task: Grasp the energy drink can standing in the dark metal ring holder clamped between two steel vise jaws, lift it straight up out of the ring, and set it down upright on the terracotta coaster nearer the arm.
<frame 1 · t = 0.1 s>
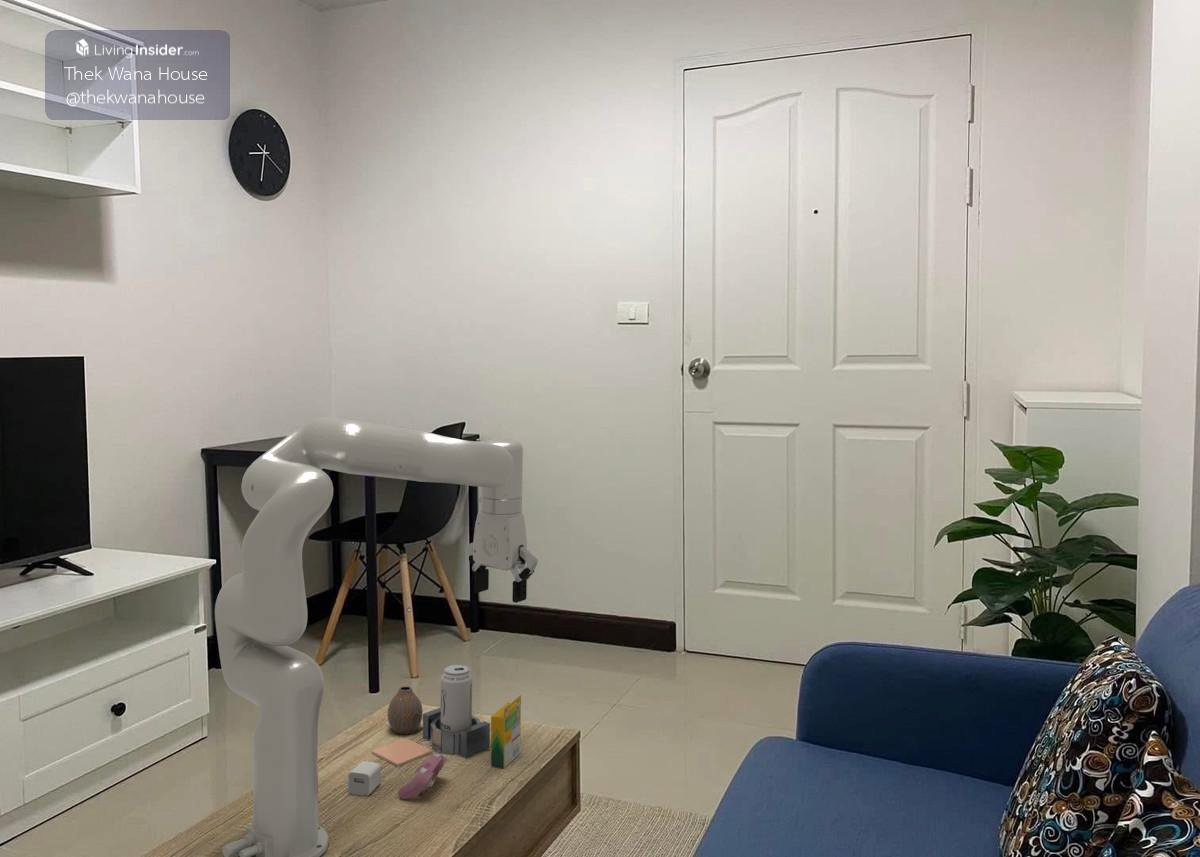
hand: (500, 595, 179), 31 cm above the table, tool pointing down, fingers open, 9 cm apart
crayon box: (505, 760, 180), on the table
vase: (405, 731, 192), on the table
usb wall charger: (368, 787, 169), on the table
coaster: (401, 753, 182), on the table
energy drink can: (455, 744, 187), resting in ring holder
ring holder: (455, 743, 187), on the table
video game controller: (423, 790, 168), on the table
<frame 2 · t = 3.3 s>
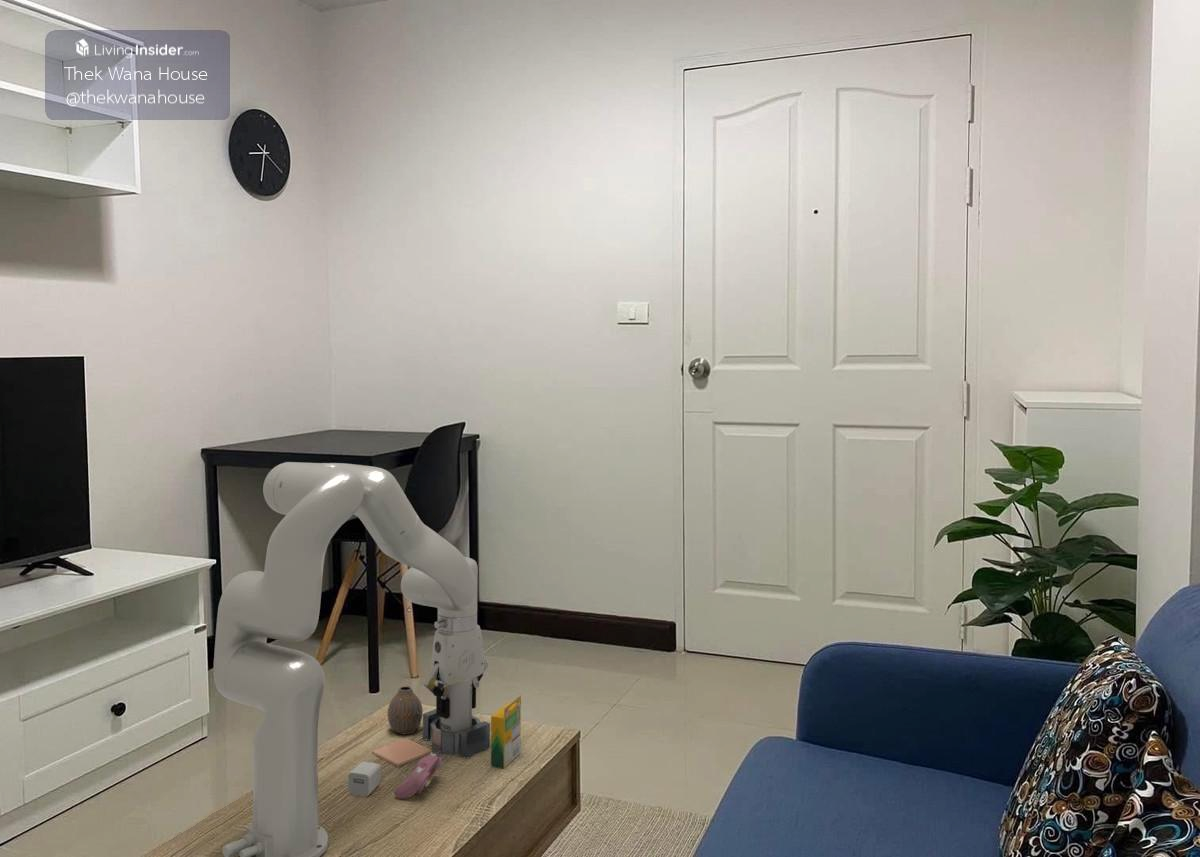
hand: (456, 710, 186), 7 cm above the table, tool pointing down, fingers closed on energy drink can, 6 cm apart
energy drink can: (455, 744, 187), resting in ring holder, touching gripper
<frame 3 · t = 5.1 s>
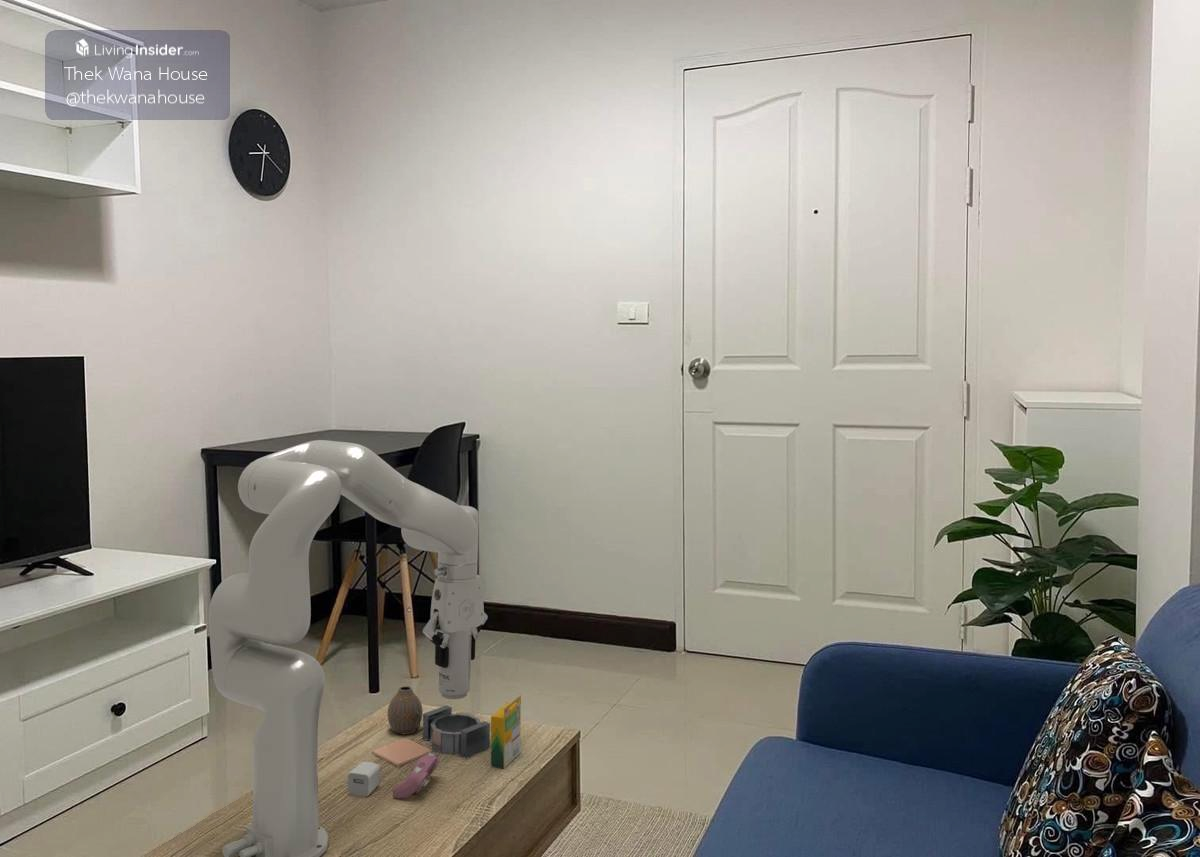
hand: (455, 661, 184), 17 cm above the table, tool pointing down, fingers closed on energy drink can, 6 cm apart
energy drink can: (454, 695, 185), point 10 cm above the table, touching gripper
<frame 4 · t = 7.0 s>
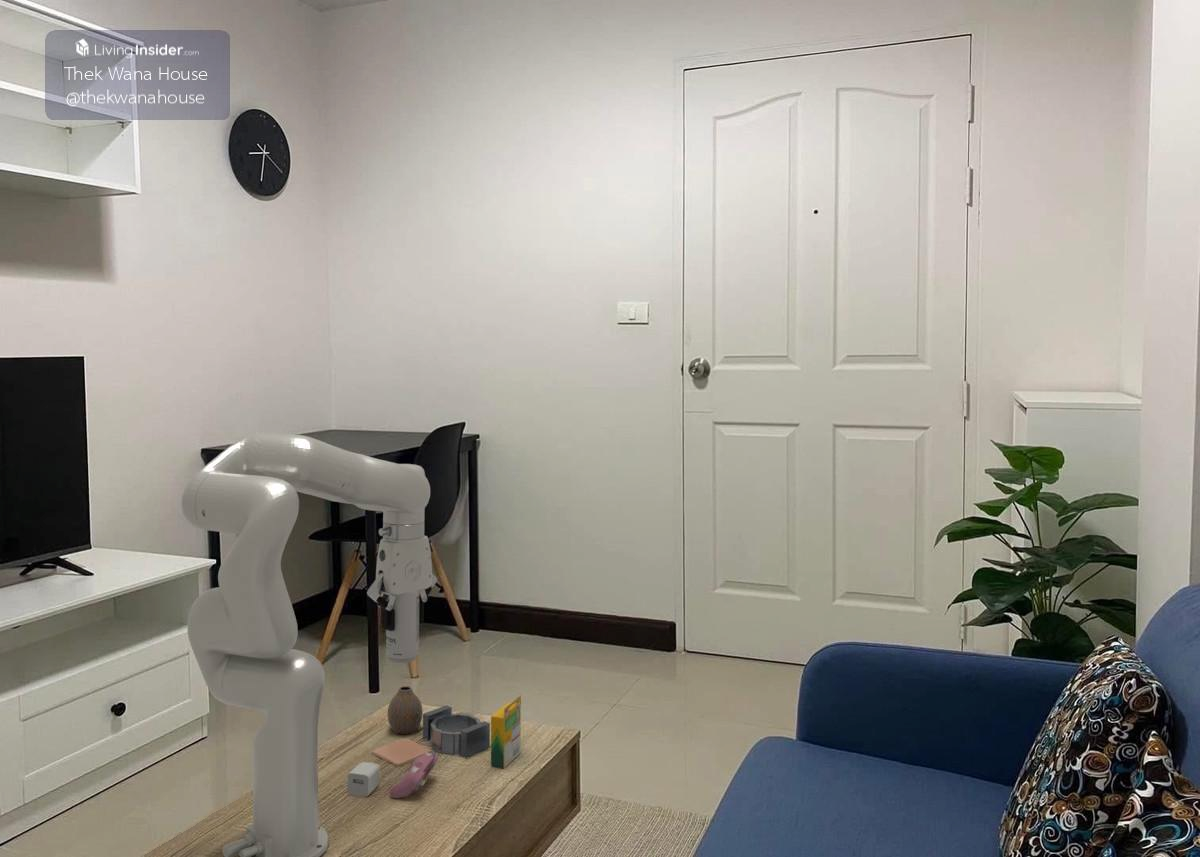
hand: (402, 624, 179), 25 cm above the table, tool pointing down, fingers closed on energy drink can, 6 cm apart
energy drink can: (402, 659, 179), point 18 cm above the table, touching gripper
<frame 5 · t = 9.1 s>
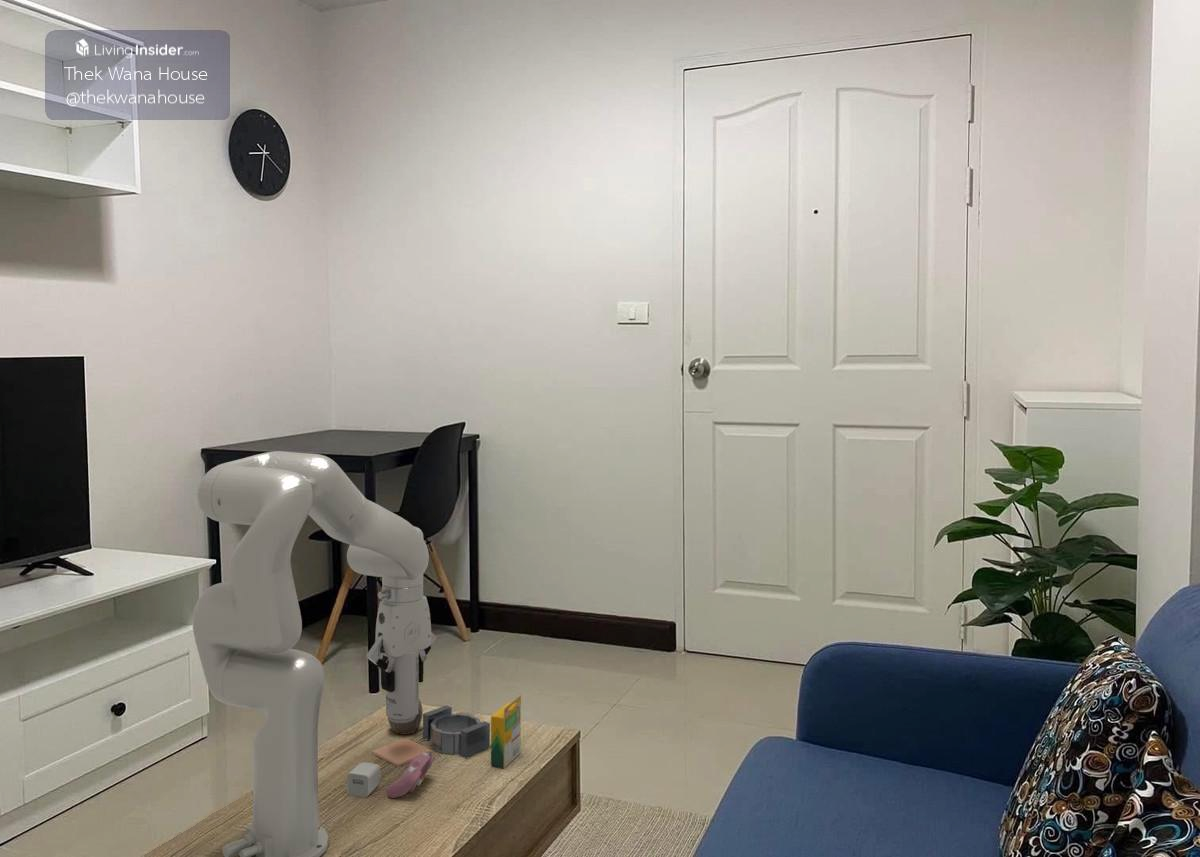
hand: (402, 684, 180), 14 cm above the table, tool pointing down, fingers closed on energy drink can, 6 cm apart
energy drink can: (402, 718, 181), point 7 cm above the table, touching gripper
when the fingers open (8 cm above the table, at t = 10.6 s): energy drink can drops 1 cm, resting on coaster.
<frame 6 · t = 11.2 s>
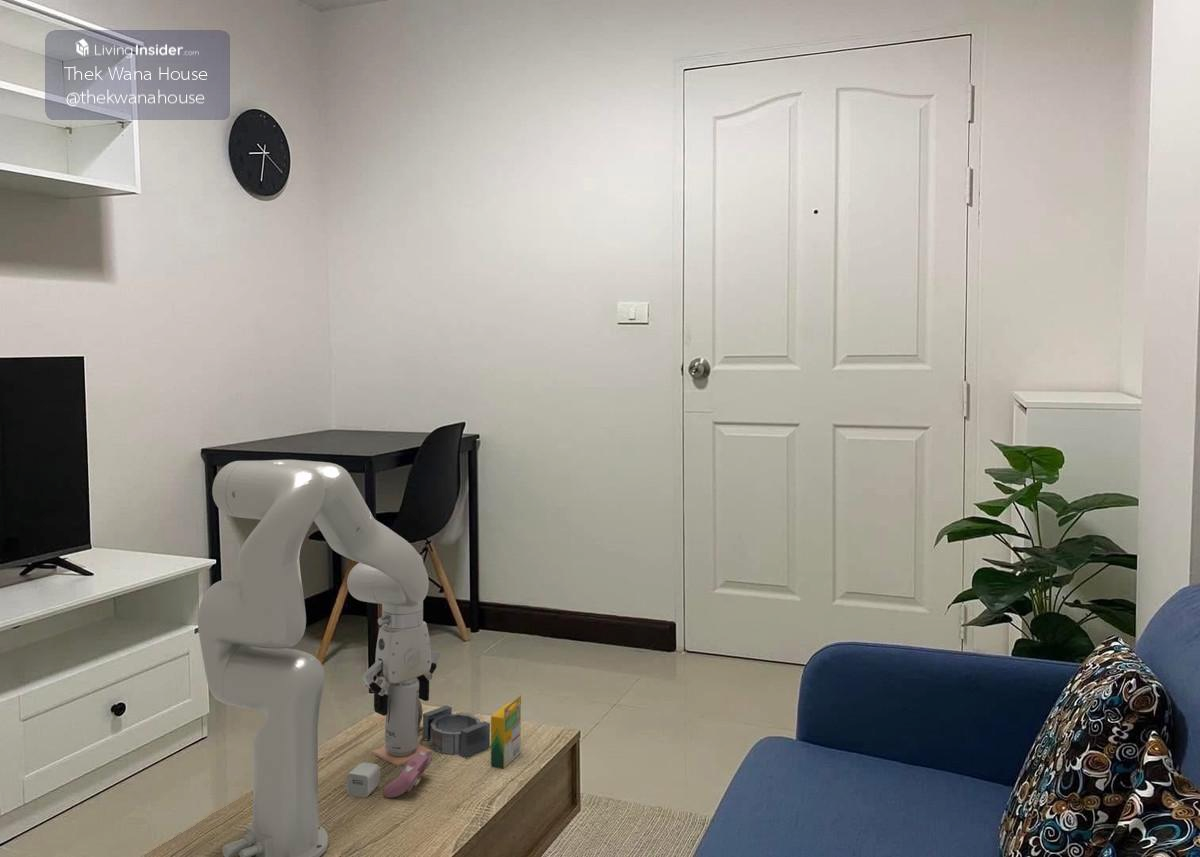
hand: (402, 706, 181), 9 cm above the table, tool pointing down, fingers open, 9 cm apart
energy drink can: (401, 751, 181), resting on coaster
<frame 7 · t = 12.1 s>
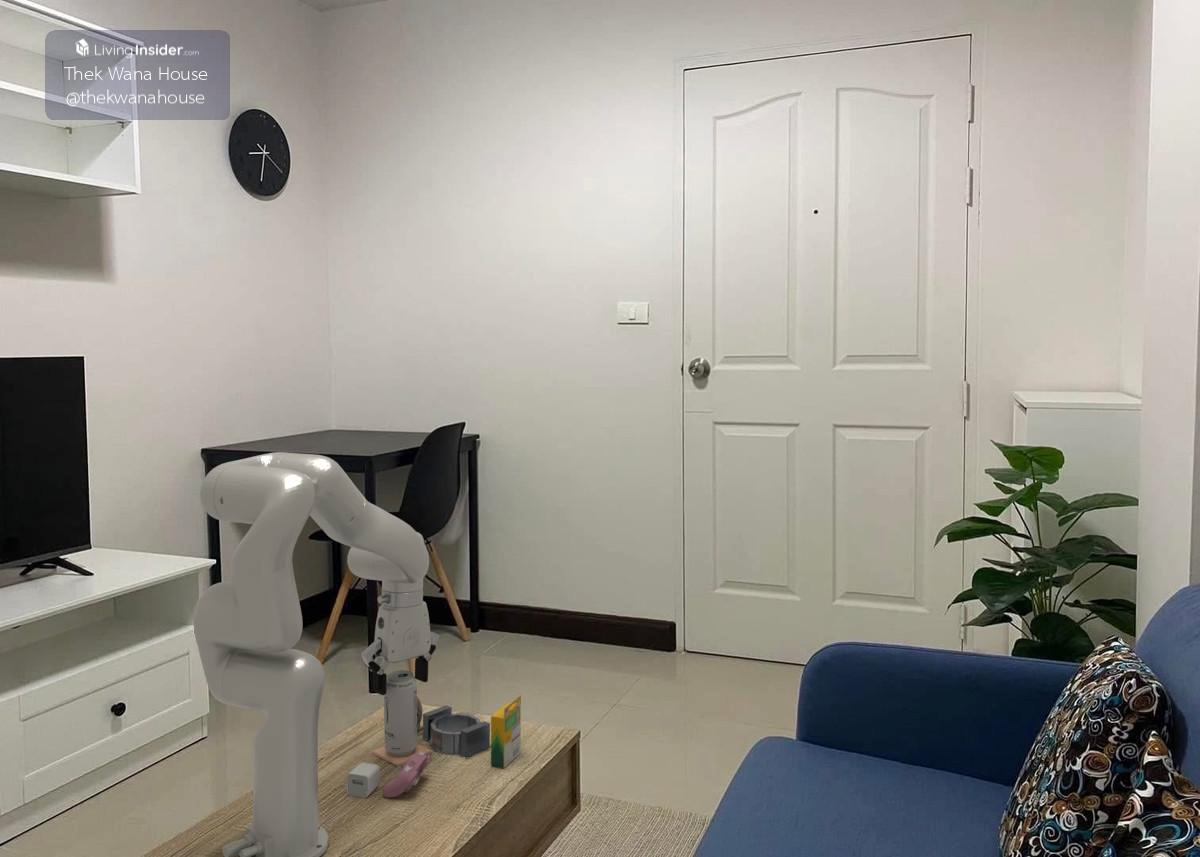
hand: (400, 686, 180), 13 cm above the table, tool pointing down, fingers open, 9 cm apart
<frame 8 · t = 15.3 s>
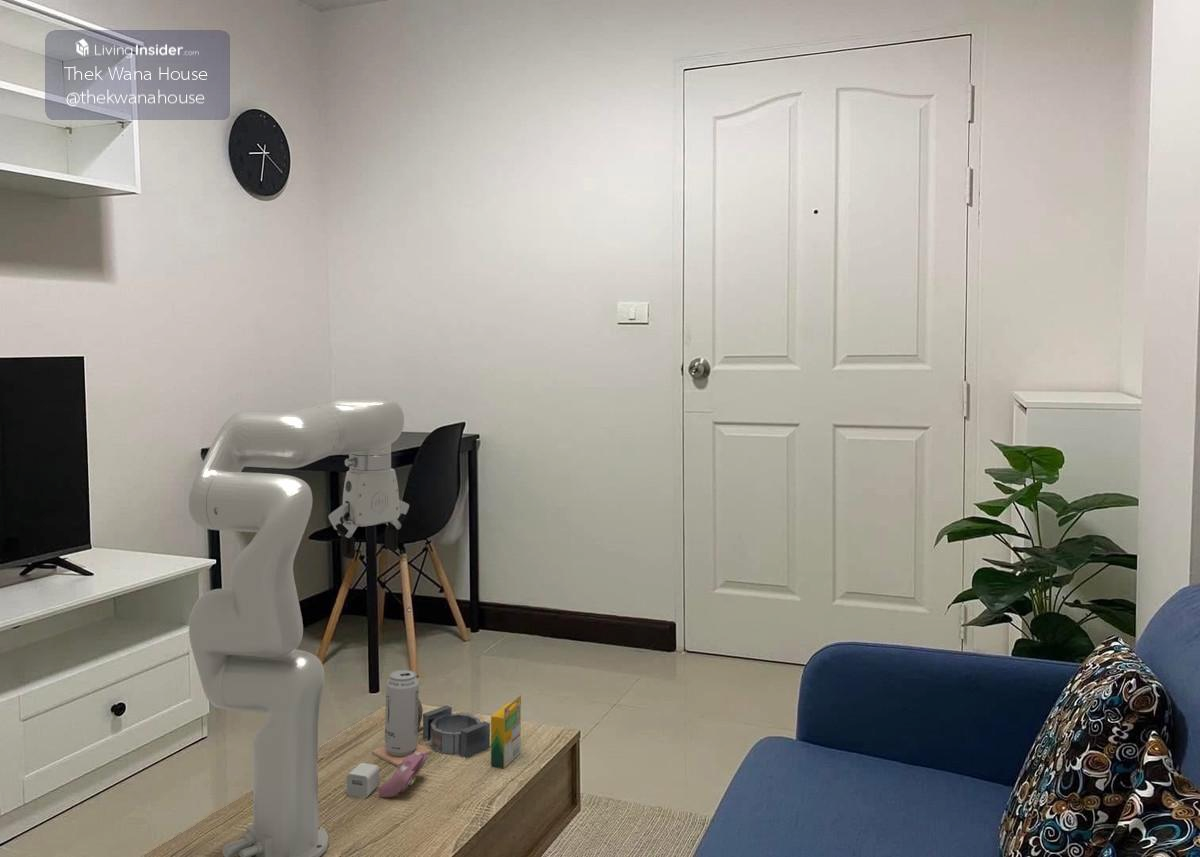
hand: (370, 553, 179), 38 cm above the table, tool pointing down, fingers open, 9 cm apart
at the end: energy drink can 0.2 cm off-centre on the coaster, point 0.3 cm above the coaster's base; energy drink can tilted 0°; the gripper is holding nothing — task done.
